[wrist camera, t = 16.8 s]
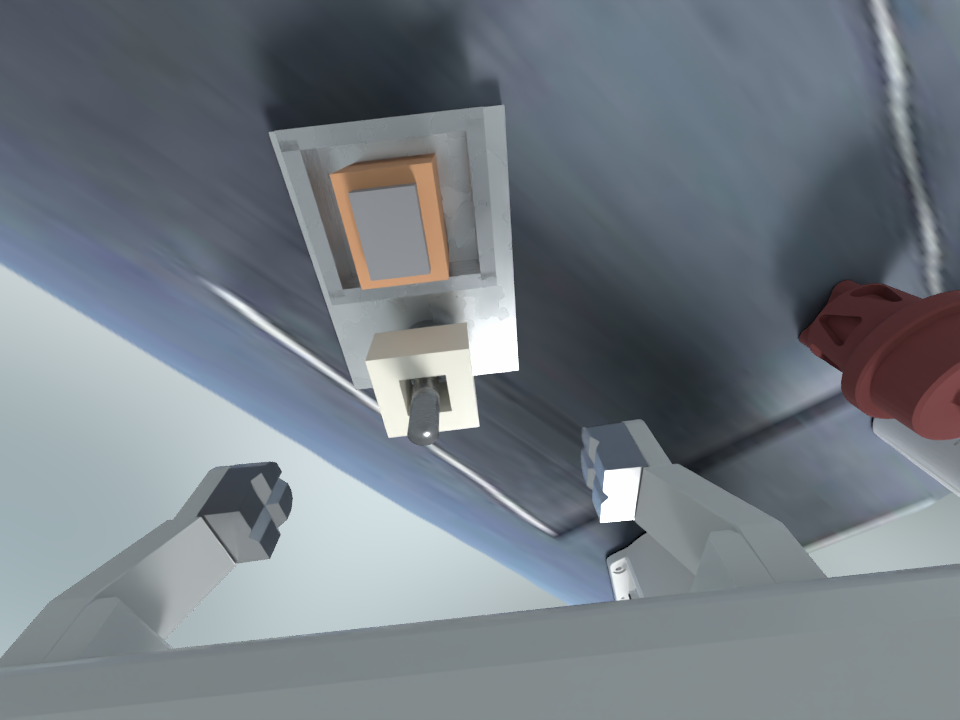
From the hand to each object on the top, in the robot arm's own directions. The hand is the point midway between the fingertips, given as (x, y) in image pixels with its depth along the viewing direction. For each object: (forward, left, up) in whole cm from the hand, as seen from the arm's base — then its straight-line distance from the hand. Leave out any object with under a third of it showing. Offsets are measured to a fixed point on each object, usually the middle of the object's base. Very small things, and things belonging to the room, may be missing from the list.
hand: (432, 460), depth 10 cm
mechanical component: (-10, -33, -21) cm, 40 cm away
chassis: (-2, +2, -21) cm, 21 cm away
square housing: (-8, +2, -17) cm, 18 cm away
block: (+3, +2, -20) cm, 20 cm away
